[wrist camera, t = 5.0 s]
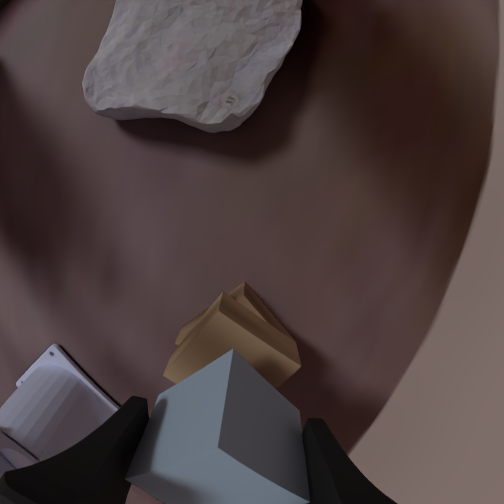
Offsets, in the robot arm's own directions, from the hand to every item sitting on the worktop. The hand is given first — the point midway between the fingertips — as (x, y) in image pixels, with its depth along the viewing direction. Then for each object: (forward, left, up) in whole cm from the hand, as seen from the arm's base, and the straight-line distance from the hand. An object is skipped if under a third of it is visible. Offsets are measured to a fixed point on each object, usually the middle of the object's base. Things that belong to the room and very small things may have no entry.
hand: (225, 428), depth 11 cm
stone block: (+10, +15, -9) cm, 20 cm away
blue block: (0, 0, -2) cm, 2 cm away
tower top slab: (0, 0, -6) cm, 6 cm away
